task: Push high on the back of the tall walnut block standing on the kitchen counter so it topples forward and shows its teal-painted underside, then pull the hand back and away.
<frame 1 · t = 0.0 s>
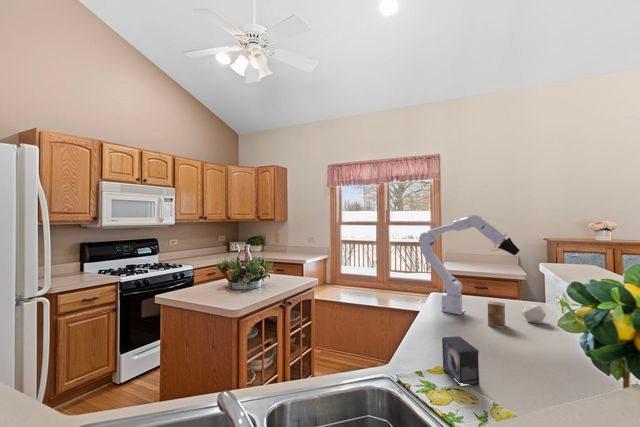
hand: (517, 253, 135), 32 cm above the countertop, tool tilted 50°, fingers open, 7 cm apart
small box: (459, 377, 91), on the countertop
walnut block: (496, 325, 132), on the countertop
die: (533, 322, 136), on the countertop
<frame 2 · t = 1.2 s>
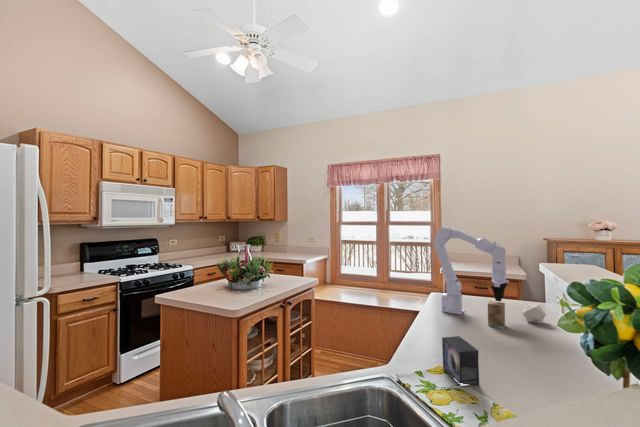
hand: (499, 299, 141), 9 cm above the countertop, tool pointing down, fingers open, 7 cm apart
nothing on the countertop moved.
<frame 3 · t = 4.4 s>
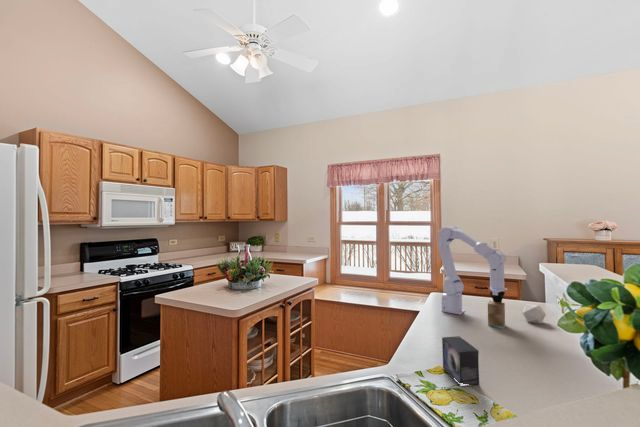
hand: (497, 307, 135), 7 cm above the countertop, tool pointing down, fingers closed
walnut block: (496, 325, 132), on the countertop, touching gripper
everything else where it was.
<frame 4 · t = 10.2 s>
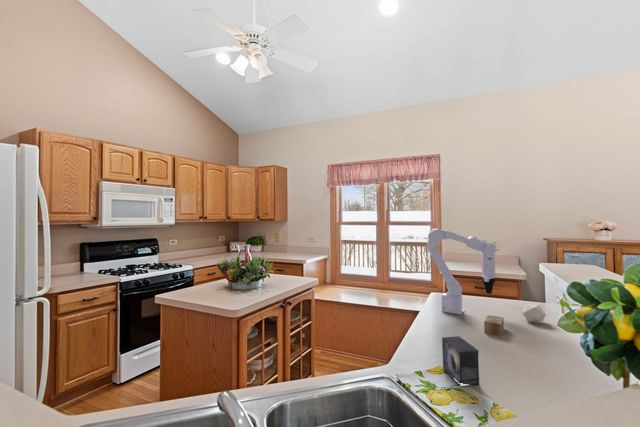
hand: (489, 293, 147), 10 cm above the countertop, tool pointing down, fingers closed
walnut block: (495, 321, 130), point 2 cm above the countertop, tilted 90°
everything else where it was.
at the end: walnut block tilted 90°; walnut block inside the target area (0.0 cm from its centre), point 2.4 cm above the countertop; the gripper is holding nothing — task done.
